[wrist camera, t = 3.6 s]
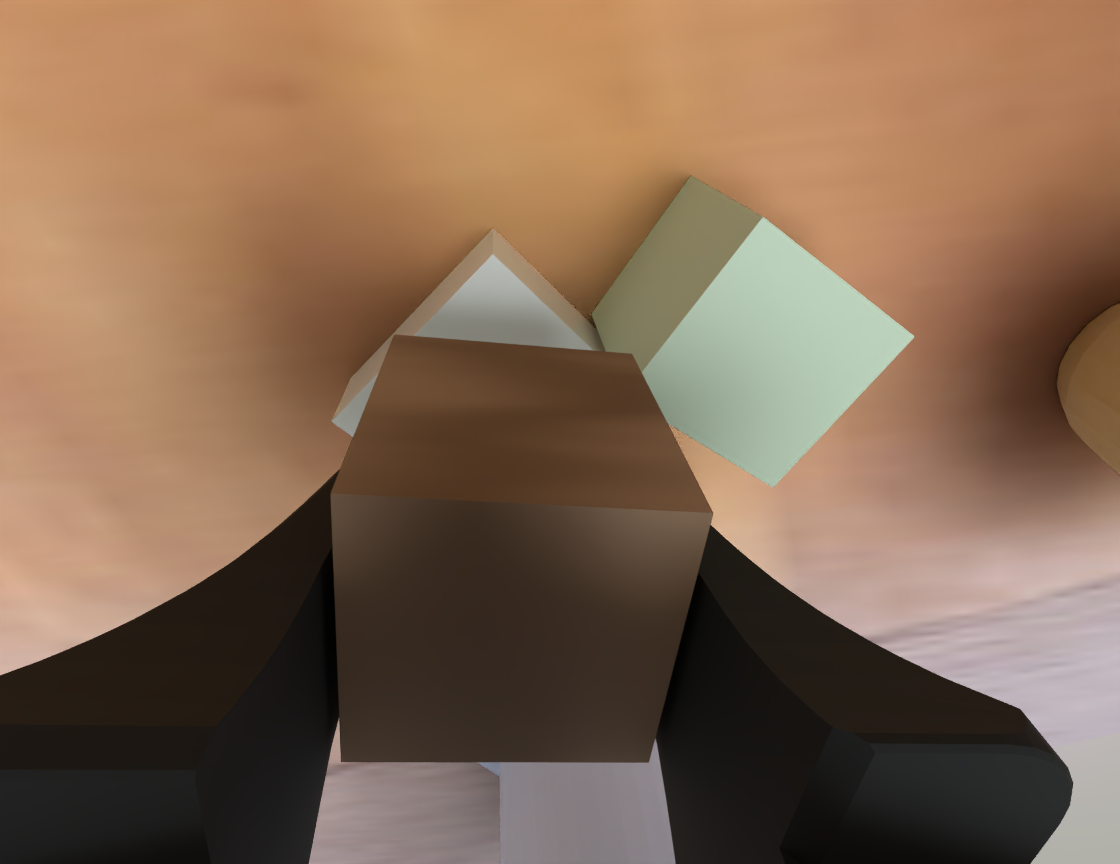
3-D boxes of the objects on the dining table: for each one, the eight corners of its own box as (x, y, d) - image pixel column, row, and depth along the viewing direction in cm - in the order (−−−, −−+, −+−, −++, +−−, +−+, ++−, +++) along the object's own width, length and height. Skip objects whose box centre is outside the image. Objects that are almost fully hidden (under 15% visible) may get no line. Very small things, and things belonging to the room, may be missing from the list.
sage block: (810, 268, 19) (915, 336, 15) (708, 389, 21) (772, 487, 16) (690, 174, 18) (762, 217, 13) (591, 313, 19) (623, 396, 15)
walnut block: (632, 353, 13) (713, 513, 8) (599, 543, 15) (648, 762, 10) (394, 334, 13) (330, 494, 8) (392, 534, 15) (341, 761, 10)
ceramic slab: (638, 368, 21) (658, 413, 18) (501, 489, 22) (502, 547, 20) (493, 225, 18) (492, 253, 16) (352, 373, 20) (331, 421, 17)
